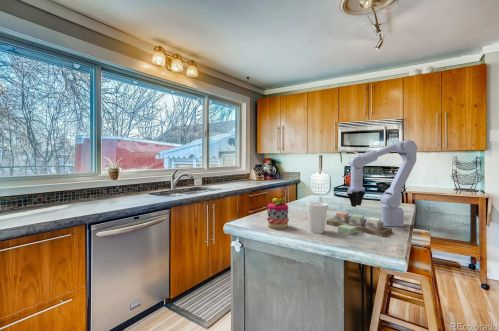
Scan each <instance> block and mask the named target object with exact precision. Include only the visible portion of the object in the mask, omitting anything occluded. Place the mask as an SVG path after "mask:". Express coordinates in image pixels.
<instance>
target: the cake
mask: <svg viewBox="0 0 499 331" xmlns="http://www.w3.org/2000/svg"><path fill="white" fill-rule="evenodd" d="M285 200H286V197H283V198H277V197H274V198H272V201H271V203H268V205H267V210H266V211H267V216H268V217H267V218H266V220H267V221H268V222H267V227H268V228H269V229H273V230H285V229H288V228H289V227H288V225H289V223H288V222H289V220H290V219H289V216H288V213H289V205H288V204H286V203H284V202H285Z"/></svg>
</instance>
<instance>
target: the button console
mask: <svg viewBox="0 0 499 331" xmlns="http://www.w3.org/2000/svg"><path fill="white" fill-rule="evenodd" d="M351 216H352V215H349V217H345V218H343V217H338V216H336V215H333V218H329V219H326V225H329V226H333V227H337V228H338V226H341V225H344V224H346V225H350V226H355V227H357V232H359V233H365V234H369V235H373V236H377V237H382V238H384V237H386V236H389V235H390V234H392V233H393V228H392V227H389V226H384V222H381V223H379V224H374V223H369V222H367V219H366V218H364V220H361V221H359V220H353V219H351Z"/></svg>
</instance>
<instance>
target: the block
mask: <svg viewBox="0 0 499 331" xmlns="http://www.w3.org/2000/svg"><path fill="white" fill-rule="evenodd" d="M337 232H338V233H341V234H346V235H353V234H355V233H357V232H358V231H357V227H355V226H350V225H346V224H344V225H341V226H338V227H337Z"/></svg>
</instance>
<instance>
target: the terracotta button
mask: <svg viewBox="0 0 499 331" xmlns="http://www.w3.org/2000/svg"><path fill="white" fill-rule="evenodd" d="M349 214H350V213H349V212H345V211H344V212H342V211H338V212H336V215H335V216H338V217H343V218H345V217H349V216H350V215H349Z"/></svg>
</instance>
